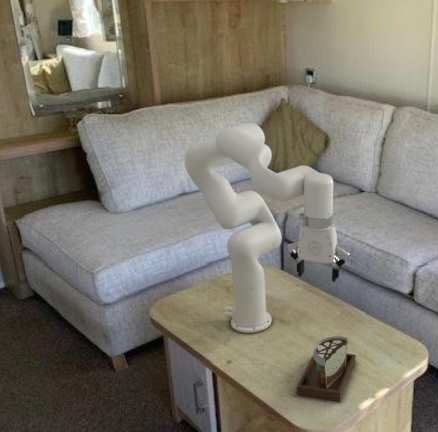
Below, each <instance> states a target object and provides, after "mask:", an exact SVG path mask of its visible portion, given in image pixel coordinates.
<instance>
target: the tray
mask: <svg viewBox="0 0 438 432" xmlns="http://www.w3.org/2000/svg"><path fill="white" fill-rule="evenodd" d="M356 355H357V354H354V353H347V355H346V370H345V371H344V372H343V373H342V374H341V375H340V376H339V377H338V378H337V379H336V380H335V381H334V382H333V383H332V384H331V385H330V386H329V387H328V388H324V387H323V386H321V385H320V383H319V381H318V373H317V364H316V361H315V360H314V358H313V356H312V357H311V359H310V361H309V363H308V364H307V366H306V368H305V370H304V372H303V374H302V376H301V378H300V380H299V382H298V383H297V386H296V396H299V397H305V398H311V399H312V398H313V399H319V400H324V401H331V402H337V403H338V402H339V403H341V401H342V398H343V395H344V393H345V390H346V388H347V385H348V383H349V381H350V378H351V376H352V373H353V370H354V368H355V365H356V363H357V362H356V358H357V356H356Z"/></svg>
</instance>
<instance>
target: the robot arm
mask: <svg viewBox="0 0 438 432" xmlns="http://www.w3.org/2000/svg"><path fill="white" fill-rule="evenodd" d="M265 142H266V137H265V133H264V131H263V129H262V128H261V127H260V126H259V125H257V124H256V123H253V122H245V123H240V124H236V125H231V126H228V127H225V128H223V129H221V130H220V131H219V132H218V133H217V135H216V137H214V138H210V139H206V140H202V141H199V142H195V143H193V144H192V145H190V146H189V147H188V148H187V149H186V151H185V153H184V167H185V170H186V172H187V174H188V177H189V178H190V180H191V181H192V182H193V183H194V184H195V186H196V187H197V188H198V189H199V191H200V192H201V194H202V196H203V198H204V199H205V201H206V203H207V205H208V207H209V209H210V211H211V212H212V214H213V216H214V218H215V220H216V222H217V224H218V225H219V226H220V227H221V228H223V229H224V230H233V229H236V228H239V227H241V226H244V225H247V224H250V226H247V227H245V228H242V229H240V230H237V231H235V232H233V233H232V234H231V235H230V236H229V238H228V239H227V242H226V250H227V255H228V257H229V260H230V265H231V266H230V267H231V274H232V287H233V299H234V301H233V302H234V306H227V305H224V307H223V312H224V314H223V315H224V317H225V316H226V317H231V320H230V326H231V327H232V328H233V330H235V331H237V332H239V333H244V334H253V333H258V332H259V333H260V332H262V331H264V330H266V329H267V328H269V327H270V326H271V324H272V321H273V320H272V315H271V314H270V313H269V312H268V311H267V302H266V301H267V300H266V299H267V297H266V280H265V279H266V277H265V270H264V267H263V266H262V264H261V263H260V262H259V260H258V259H259V258H260V257H262V256H264V255H266V254H268V253H270V252H273V251H274V250H276V249H278V248H279V247H280V246H281V244H282V239H283V238H282V237H283V235H282V232H281V229H280V227H279V225H278V223H277V222H276V220H275V218H274V216H273V214H272V212H271V210H270V209H269V207H268V205H267V203H266V202H265V200H264V198H263V197H262V196H261V195H260V194H259V193H258V192H257V191H255V190H244V191H241V192H238V193H237V192H235V190H234V189H233V187H232V185H231V183H230V181H229V180H228V179H227V178H226V177H225V176H224V175H223V174H221V173H219V172H217V171H216V170H215V168H220V167H222V166H227V165H230V164H233V163H236V164H237V165H239V166H241V167H243V168H244V169H246V170H247V171H249V176H250V179H251V182H252V184H253V185H254V187H255V188H256V189H257V190H258V191H259V192H260V193H262V194H263V195H265V196H266V197H268V198H270V199H272V200H274V201H276V202H288V201H290V200H292V199H295V198H297V197H300V196H304V197H303V212H302V213H301V212H300V213H299V215H298V218H299V219H301V220H302V221H303V222H301V224H300V227H299V233H298V241H294V242H293V243H289V244H287V246H286V248H287V251H288V252H289V254H290V257H291V258H292V259H293V260H294V262H295V264H296V272H297V276H298V277H300V278H301V277H302V276H303V275H304V273H305V261H307V262H314V263H320V264H321V263H322V264H330V265H331V266H332V269H331V282H332V283H335V282H336V281H337V279H339V278H340V268H341V267H342V266H343V265H344V264H345V263H346V261H347V260H348V258H349V257H350V252H349V251H346V250H345V249H343V248H342V247H340V246H339V245H338V234H337V229H336V224H335V223H334V179H333V177H332V176H331V175H330V174H328V173H323V172H319V171H317V170H316V169H314V168H312V167H310V166H308V165H299V166H296V167H293V168H288V169H286V170H283V171H280V172H275V171H273V170H271V169H269V168H268V167H269V165H270V163H271V162H272V156H273V154H272V149H271V148H270V147H269V146H268V144H266V143H265ZM296 248H297V250H296ZM338 255H340V256H341V259H339V258H338Z"/></svg>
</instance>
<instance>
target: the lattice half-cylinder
mask: <svg viewBox="0 0 438 432" xmlns="http://www.w3.org/2000/svg"><path fill="white" fill-rule="evenodd" d="M348 344H349V339H348V337H346V336H336V335H335V336H328V337H326V338H322V339H320V340H319V341H318V342H317V343H316V345H315V346H314V349H313V353H312V357H313V358H314V360H315V361H316V364H317V373H318V381H319V383H320V385H321V386H323V387H324V388H328V387H329V386H330V385H331V384H332V383H333V382H334V381H335V380H336V379H337V378H338V377H339V376H340V375H341V374H342V373H343V372H344V371H345V370H346V355H347V354H348Z"/></svg>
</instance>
